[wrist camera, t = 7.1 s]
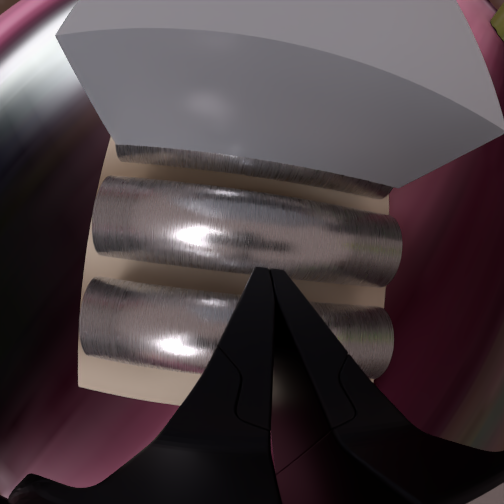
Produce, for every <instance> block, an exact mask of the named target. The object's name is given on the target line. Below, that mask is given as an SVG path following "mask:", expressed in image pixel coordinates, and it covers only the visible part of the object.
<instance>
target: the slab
mask: <svg viewBox="0 0 504 504" xmlns="http://www.w3.org/2000/svg"><path fill="white" fill-rule="evenodd" d="M55 36H56V38H57V40H58V42H59V44H60V46H61V48H62V50H63V52H64V54H65V55H66V57H67V59H68V61H69V63H70V65H71V67H72V69H73V70H74V72H75V74H76V76H77V78H78V80H79V81H80V83H81V85H82V87H83V89H84V90H85V92H86V94H87V96H88V97H89V99H90V101H91V103H92V105H93V106H94V108H95V110H96V111H97V113H98V115H99V117H100V118H101V120H102V122H103V123H104V125H105V127H106V129H107V130H108V132H109V134H110V135H111V137H112V139H113V140H114V142H115V144H118V145H135V146H149V147H161V148H172V149H182V150H192V151H201V152H209V153H217V154H225V155H232V156H239V157H246V158H253V159H259V160H266V161H272V162H278V163H284V164H289V165H295V166H300V167H306V168H311V169H316V170H321V171H326V172H331V173H336V174H340V175H345V176H349V177H354V178H358V179H363V180H367V181H371V182H375V183H379V184H383V185H387V186H391V187H395V188H400V187H402V186H404V185H406V184H408V183H410V182H412V181H414V180H416V179H418V178H420V177H422V176H424V175H426V174H427V173H429V172H431V171H433V170H435V169H437V168H439V167H441V166H443V165H445V164H447V163H449V162H451V161H453V160H455V159H456V158H458V157H460V156H462V155H464V154H466V153H468V152H470V151H472V150H474V149H476V148H478V147H480V146H481V145H483V144H485V143H487V142H489V141H491V140H493V139H495V138H497V137H499V136H501V135H503V134H504V119H503V115H502V112H501V108H500V105H499V101H498V98H497V95H496V92H495V89H494V86H493V83H492V80H491V77H490V74H489V71H488V69H487V66H486V64H485V61H484V58H483V56H482V54H481V51H480V49H479V46H478V44H477V42H476V39H475V37H474V35H473V33H472V31H471V29H470V27H469V24H468V22H467V20H466V18H465V16H464V14H463V12H462V11H461V9H460V7H459V5H458V3H457V1H456V0H78V2H77V3H76V4H75V6H74V7H73V9H72V10H71V12H70V13H69V15H68V16H67V18H66V19H65V21H64V22H63V24H62V25H61V27H60V29H59V30H58V32H57V34H56V35H55Z"/></svg>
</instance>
